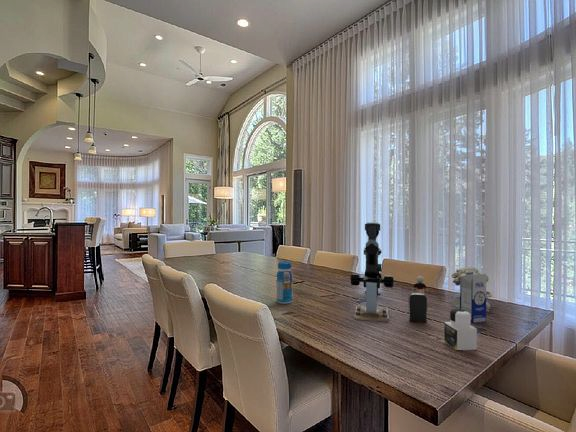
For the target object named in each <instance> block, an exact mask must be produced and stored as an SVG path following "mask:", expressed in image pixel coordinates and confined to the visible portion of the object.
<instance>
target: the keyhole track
mask: <svg viewBox="0 0 576 432" xmlns="http://www.w3.org/2000/svg"><path fill="white" fill-rule="evenodd" d="M355 306H356V307H355V310H354V315H353V319H354V320H363V321H373V322H385V323H390V319H389V310H388V307H383V306H377V313H371V312H366V305H358V304H357V305H355Z"/></svg>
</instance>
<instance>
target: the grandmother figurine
mask: <svg viewBox="0 0 576 432" xmlns="http://www.w3.org/2000/svg"><path fill="white" fill-rule="evenodd" d="M423 282H424V276H422V275H418V276H416V283H414V284H413V285H412V288H411V291H414V290H415V289H416V292H415V293H422V294H424V295H425V296H426V294H425V291H426V292H429V289H428V287H427V285H426V284H425V283H423Z"/></svg>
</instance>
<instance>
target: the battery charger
mask: <svg viewBox="0 0 576 432" xmlns="http://www.w3.org/2000/svg"><path fill="white" fill-rule="evenodd" d="M424 294H425V293H424ZM424 294H422V293H416V292H411V293H410V294H408V311H409V315H408V316H409V317H408V319H409V322H413V323H414V322H415V323H416V322H417V323H427V322H428V321H427V318H428V316H427V311H428V298H427V296H426V294H425V295H424Z"/></svg>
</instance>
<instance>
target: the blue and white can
mask: <svg viewBox="0 0 576 432" xmlns="http://www.w3.org/2000/svg"><path fill="white" fill-rule="evenodd" d="M277 269H278V271H277V272H276V275H275V276H276V302H277V303H278V304H283V305H284V304H286V305H287V304H291V303H292V302H293V282H294V280H293V276H294V275H293V272H292V271H291V269H292V262H291V261H285V260H284V261H278V263H277Z"/></svg>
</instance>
